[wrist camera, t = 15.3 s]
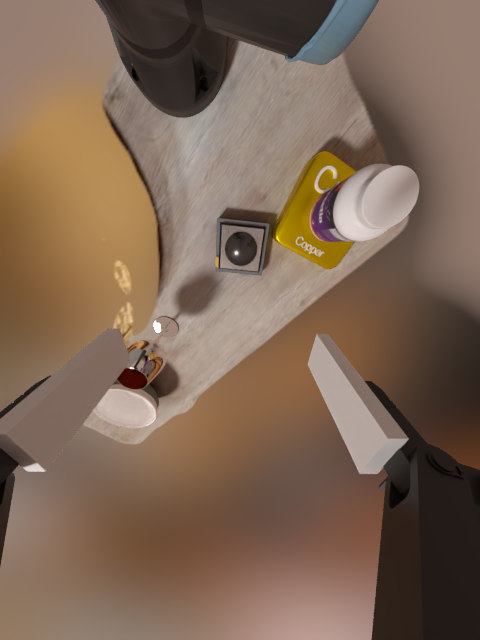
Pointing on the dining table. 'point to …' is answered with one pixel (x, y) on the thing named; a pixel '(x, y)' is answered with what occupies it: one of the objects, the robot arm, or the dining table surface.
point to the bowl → (128, 406)
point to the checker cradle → (243, 224)
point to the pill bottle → (365, 204)
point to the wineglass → (147, 357)
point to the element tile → (296, 212)
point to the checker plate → (241, 247)
